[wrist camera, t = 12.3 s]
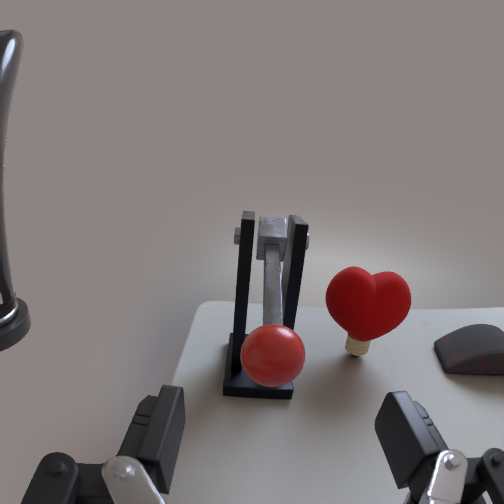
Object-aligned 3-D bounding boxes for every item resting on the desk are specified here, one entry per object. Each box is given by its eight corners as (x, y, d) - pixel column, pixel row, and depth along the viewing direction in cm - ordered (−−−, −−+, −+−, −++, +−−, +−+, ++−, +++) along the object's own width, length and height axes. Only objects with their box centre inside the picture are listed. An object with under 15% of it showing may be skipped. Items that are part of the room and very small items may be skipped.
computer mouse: (525, 378, 23) (538, 351, 22) (446, 377, 26) (459, 347, 25) (503, 348, 30) (513, 323, 29) (430, 342, 33) (440, 315, 32)
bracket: (291, 399, 24) (322, 231, 20) (222, 395, 24) (232, 223, 20) (283, 345, 33) (301, 212, 29) (229, 341, 33) (238, 206, 29)
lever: (299, 397, 16) (314, 368, 14) (237, 395, 16) (239, 365, 14) (289, 247, 27) (295, 213, 25) (248, 244, 27) (251, 209, 25)
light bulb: (312, 367, 29) (331, 276, 26) (315, 334, 35) (330, 255, 33) (397, 376, 27) (426, 289, 24) (387, 343, 34) (408, 267, 31)
